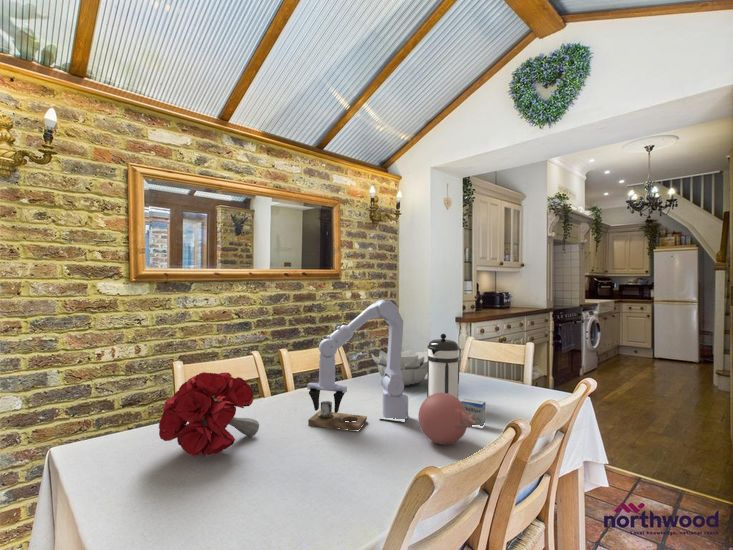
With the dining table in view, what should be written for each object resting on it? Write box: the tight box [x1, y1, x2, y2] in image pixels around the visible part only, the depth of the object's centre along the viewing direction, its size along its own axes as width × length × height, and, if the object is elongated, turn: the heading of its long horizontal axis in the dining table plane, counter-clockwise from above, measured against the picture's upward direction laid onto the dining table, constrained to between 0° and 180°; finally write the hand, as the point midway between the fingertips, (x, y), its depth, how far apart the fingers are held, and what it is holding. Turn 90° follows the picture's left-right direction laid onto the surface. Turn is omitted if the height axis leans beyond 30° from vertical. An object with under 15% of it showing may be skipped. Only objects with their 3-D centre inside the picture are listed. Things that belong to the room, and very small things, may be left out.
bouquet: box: [158, 371, 260, 458], centre depth 116 cm, size 22×24×30 cm
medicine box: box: [460, 398, 486, 426], centre depth 137 cm, size 8×4×9 cm, turn 62°
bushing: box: [320, 400, 333, 419], centre depth 138 cm, size 4×4×7 cm
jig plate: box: [307, 410, 368, 431], centre depth 137 cm, size 18×10×2 cm, turn 73°
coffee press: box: [426, 333, 460, 399], centre depth 158 cm, size 17×16×30 cm
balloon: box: [418, 393, 477, 445], centre depth 120 cm, size 15×20×15 cm
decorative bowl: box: [371, 349, 428, 386], centre depth 193 cm, size 30×30×15 cm
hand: (326, 410), depth 138 cm, fingers open, 7 cm apart
